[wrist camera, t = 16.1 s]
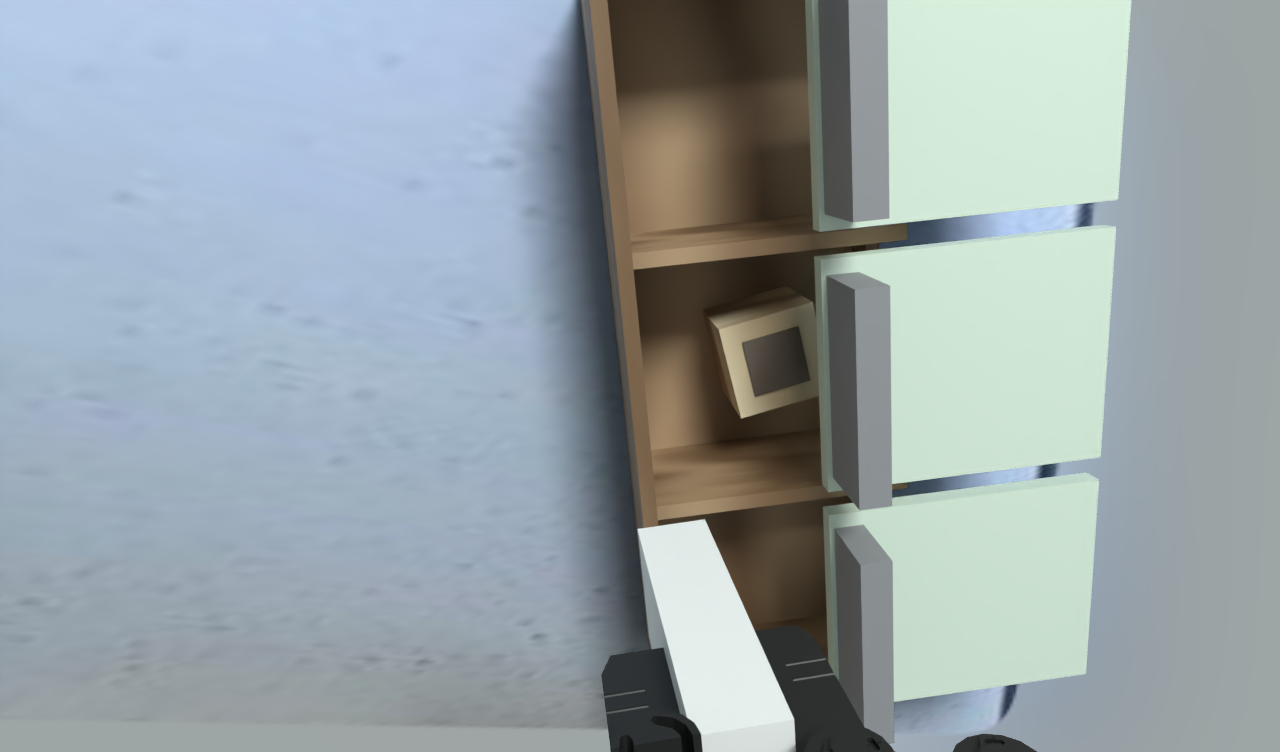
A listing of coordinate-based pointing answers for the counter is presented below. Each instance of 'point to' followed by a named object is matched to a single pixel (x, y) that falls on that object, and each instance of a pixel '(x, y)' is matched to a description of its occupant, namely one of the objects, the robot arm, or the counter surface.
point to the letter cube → (765, 350)
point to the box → (714, 275)
